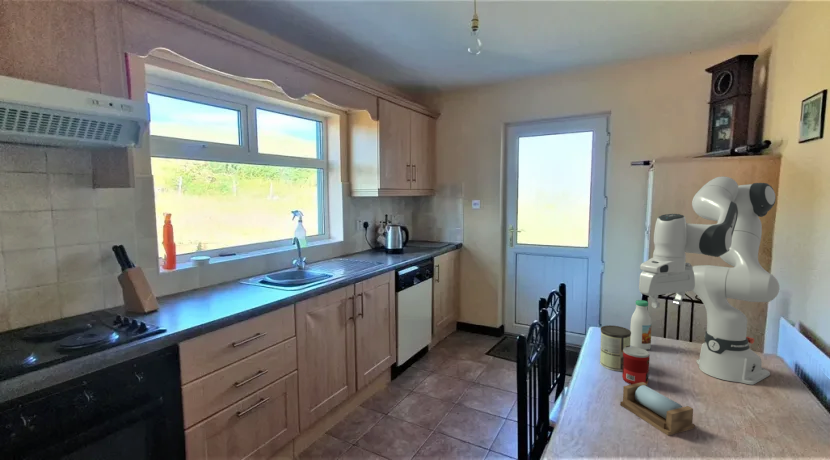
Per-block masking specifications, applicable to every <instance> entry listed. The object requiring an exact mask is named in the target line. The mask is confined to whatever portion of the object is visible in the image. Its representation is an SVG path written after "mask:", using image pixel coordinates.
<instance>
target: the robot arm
mask: <svg viewBox="0 0 830 460" xmlns="http://www.w3.org/2000/svg"><path fill="white" fill-rule="evenodd" d="M776 198H777V197H776V193H775V190H774V189H773V186H771V185H770V184H769V183H766V182H754V183H750V184H741V185H738V182H737V181H736V180H735V179H733V178H731V177H729V176H717V177H714V178H713V179H710V180H709V181H708V182H706V183H705V184H704V185H703V186H701V188H700V189H699V190H698V191H697V192H696V193H695V194H694V196H693V198H692V202H691V206H692V207H691V208H692V209H693V212H695V214H696V215H697V216H698V217H700V218H701V219H703V220H708V221H713V222H714V221H715V222H716V223H714V224H712V223H711V224H704V223H702V224H701V223H689V222H688V223H687V222H686V221H687V220H686V217H685V215H683V214H680V213H666V214H661V215H659V216H658V217H657V219H656V221H655V225H654V231H653V244H654V248H653V249H654V250H653V253H652V257H651V258H649V259H648V260H646V261H644V262H642V263H640V265H639V269H640V270H641V272H640V274H639V280H638V281H639V283H638V284H639V285H638V291H639V293H641V295H645V296H648V298H649V300H650V302H651V307H652V308H654V309H659V308H661V302H658V299H659V295H661V296H662V295H668V294H676V295H675V298H673V299H672V300H673V305H675V306H681V305H682V304H683V303H682V302H683V298H684V297H685V296H686V292H691V291H692V292H693V293H694V294H696V295H697V297H699V298H700V299H699V300H701V302H702V304H703V305H704V307H705V311H706V331H705V334H704V342H703V343H702V344H701V347H700V348H701V349H700V355H699V358H698V359H697V360H696V363H697V364H698V367H699V370H700V371H702V372H703V373H704V374H706V375H708V376H711V377H713V378H716V379H720V380H723V381H728V382H736V383H742V384H746V385H752V386H753V385H755V384H757V383H759V382H760V381H762V380H764V379H766V378H768V377H769V376H770V375H771V372H770V371H769V370H767V369H765V368H764V367H762V363H763V362H762V357H760V356H759V354H757V353H756V352H755V351H754V350H752V349H751V348H750V344H751V345H753V344H754V343H755V338H754V337H750V336H747V332H748V329H747V328H748V318H747V315H745V313H743V311H741V310H739V309H738V308H736V307H735V306H733V305H731V303H729V301H728V299H732V300H739V301H745V302H749V303H769V302H772V301H774V300H775V299H776V298H777V296H778V295H779V293H780V283H779V281H778V279H777V278H776V276H775V275H773V274H772V273H771V272H769V271H767V270H765V268H764V267H762V265H761V263H760V261H759V249H760V245H761V241H762V233H763V227H762V225H763V224H762V220H761V218H763V217H765V216H766V215H767V214H768V212H769V211H771V209H772V208H773V207H774V206H775V203H776ZM760 217H761V218H760ZM686 253H688V254H697V255H704V256H709V257H710V256H711V257H715V258H718V257H720V259H721V260H722V261H723V262H725V263H727V264H728V265H729V266H731V267H729V266H728V267H727V266H720V265H709V264H705V265H704V264H703V265H692V264H691V263H690V262H686V259H687V256H686Z"/></svg>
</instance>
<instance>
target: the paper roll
mask: <svg viewBox="0 0 830 460" xmlns="http://www.w3.org/2000/svg"><path fill="white" fill-rule="evenodd" d="M635 400H636V401H637V402H639V403H640V404H642V405H643V406H645V407H647V408H648V409H650V410H652V411H653V412H655V413H657V414H658V415H660V416H662V417H663V418H665V419H666V416H667V411H670V410H674V409H678V408H682V407H683V406H682V405H681V404H680V403H678V402H676V401H674V400H673V399H670V398H669V397H667V396H665V395H664V394H661V393H659V392H658V391H656V390H654V389H653V388H650V387H649V386H648V385H647V386H645V385H642V386H640V387H638V388H637V390H636V392H635Z"/></svg>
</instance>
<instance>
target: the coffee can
mask: <svg viewBox="0 0 830 460" xmlns="http://www.w3.org/2000/svg"><path fill="white" fill-rule="evenodd" d="M630 340H631V331H630V329H628V328H626V327H623V326H619V325H604V326H600V351H599V352H600V359H599V364H600V365H601V366H602V367H603V368H604V369H607V370H610V371H614V372H622V371H623V349H624V348H626V347H631V345H630Z"/></svg>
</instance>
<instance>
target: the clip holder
mask: <svg viewBox="0 0 830 460" xmlns="http://www.w3.org/2000/svg"><path fill="white" fill-rule="evenodd" d="M642 385H645V386H647V387H648V384H646V383H644V382H641V383H636V384H627V385H624V386H623V389H622V390H623V392H622V401H620V404H619V405H620V406H621V407H623V408H624V409H626V410H627V411H629V412H630V413H632V414H634V415H635V416H637V417H638V418H639V419H642V420H643V421H645V422H646V423H647V424H649V425H651V426H652V427H653V428H655V429H657V430H659V431H660V432H661V433H663V434H665V435H666V436H668V437H669V436H672V435H675V434H679V433H683V432H686V431H689V430H693V429H695V428H696V427H695V426H696V425H695V424H694V423H693V419H694V417H693V415H694V408H693V407H691V406H689V405H687V406H682V408H678V409H674V410H670V411H667V416H666V419H665V418H663V417H662V416H660V415H658V414H657V413H655V412H653V411H652V410H650V409H648V408H647V407H645V406H643V405H642V404H640V403H639V402H637V401H636V400H635V392H636V390H637V388H638V387H640V386H642Z"/></svg>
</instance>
